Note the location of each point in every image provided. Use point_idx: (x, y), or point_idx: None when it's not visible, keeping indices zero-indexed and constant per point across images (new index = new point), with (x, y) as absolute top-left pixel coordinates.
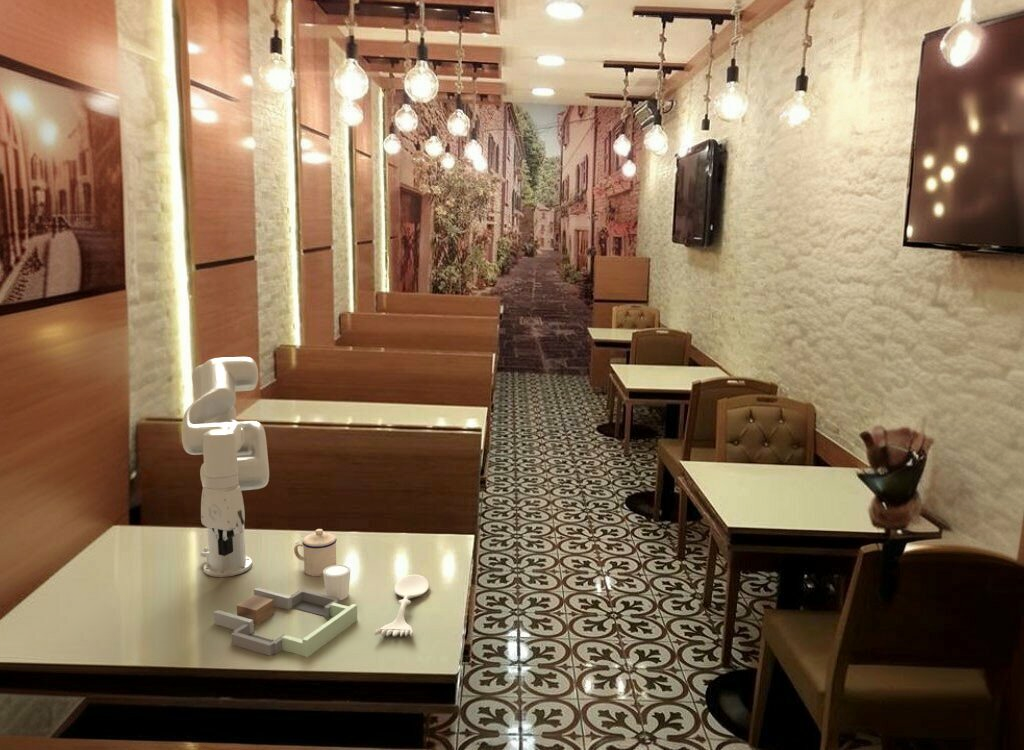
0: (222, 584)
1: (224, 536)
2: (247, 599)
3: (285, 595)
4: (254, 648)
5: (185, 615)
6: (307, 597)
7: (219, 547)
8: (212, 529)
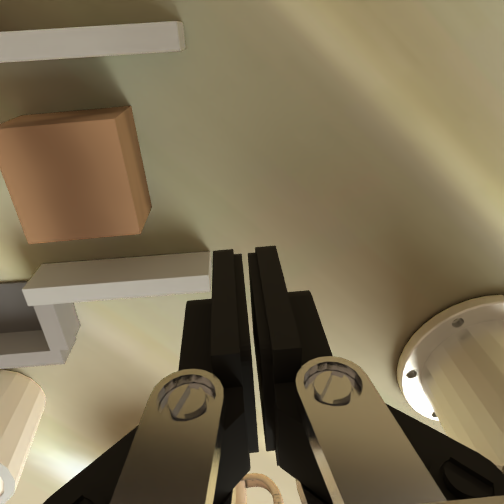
0: (410, 275)
1: (181, 421)
2: (123, 188)
3: (55, 300)
4: None
5: (365, 9)
6: (34, 340)
7: (264, 287)
8: (480, 468)
